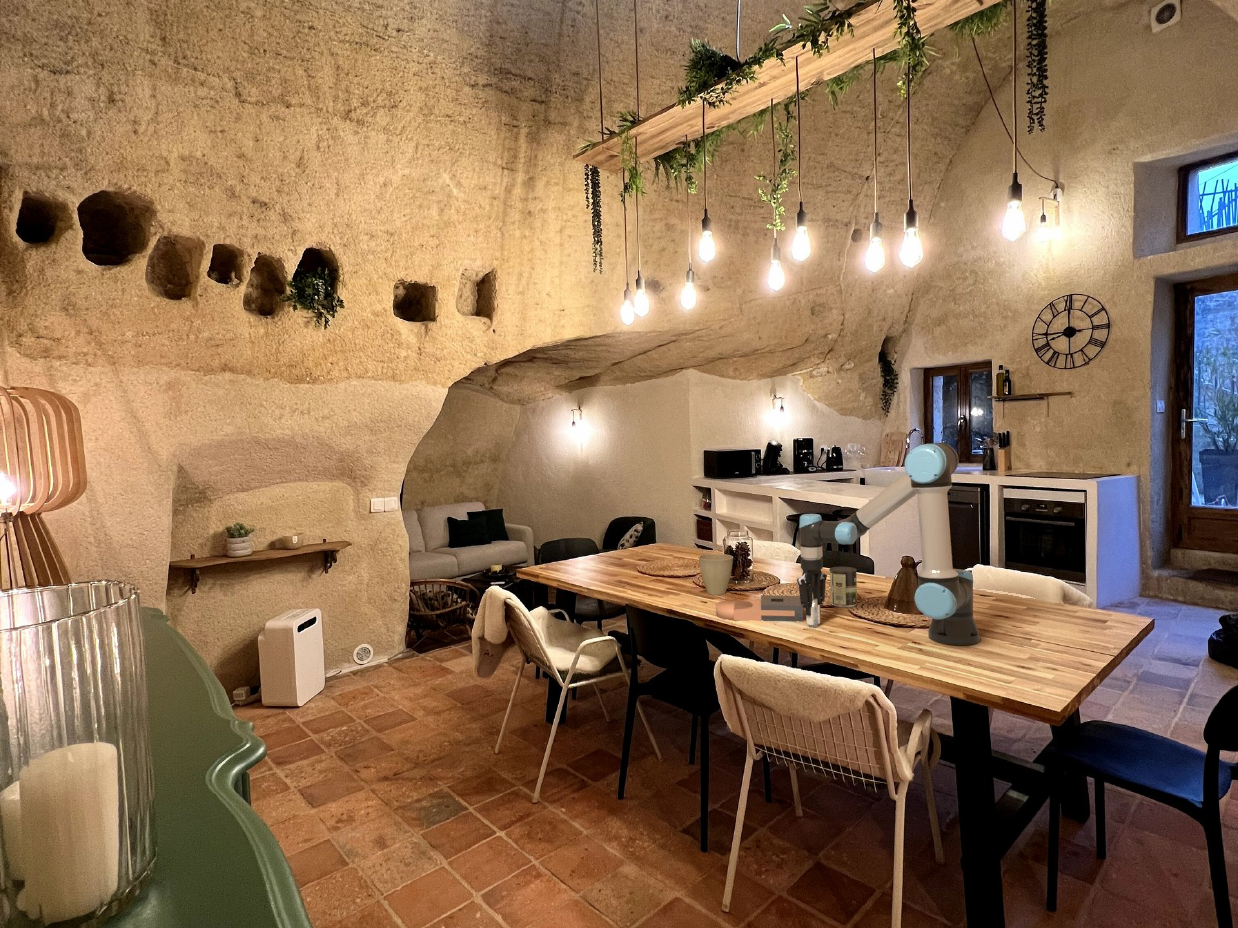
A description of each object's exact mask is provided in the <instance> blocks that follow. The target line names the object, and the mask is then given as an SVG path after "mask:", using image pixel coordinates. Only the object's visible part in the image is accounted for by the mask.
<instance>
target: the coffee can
mask: <svg viewBox="0 0 1238 928" xmlns="http://www.w3.org/2000/svg"><path fill="white" fill-rule="evenodd" d="M857 570H858V569H857V568H855V567H850V566H833V567H829V583H830V584H829V585H830V586H829V588H830V589H829V590H830V592H829V593H830V594H829V595H830V605H831V604H832V606H833V605H834V607H838V608H853V607H852V606H853V605H856V604H857V605H858V586H857V585H858V584H857V582H858V581H857V577H858V576H857Z"/></svg>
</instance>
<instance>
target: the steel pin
mask: <svg viewBox="0 0 1238 928" xmlns="http://www.w3.org/2000/svg"><path fill="white" fill-rule="evenodd" d="M812 606H813V607H814V625H810V624H808V626H809V628H811V627H813V628H812V629H817V628H818V627H819V624H818V605H817V598H813V597H812Z"/></svg>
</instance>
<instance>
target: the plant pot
mask: <svg viewBox="0 0 1238 928" xmlns="http://www.w3.org/2000/svg"><path fill="white" fill-rule="evenodd" d="M733 563H734V556H732V555H730V554H725V553H708V554H707V553H706V554H701V555H699V556H698V564H699V568H700V573H701V577H702V581H703V584H704V587H705V589H706V592H707V594H708V595H711V596H722V595H725V594H726V591H727V589H728V584H729V582H730V579H731V573H732V569H733Z"/></svg>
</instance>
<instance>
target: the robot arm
mask: <svg viewBox="0 0 1238 928" xmlns="http://www.w3.org/2000/svg"><path fill="white" fill-rule="evenodd" d="M906 455H907V456H906V458H905V460H904V470H905V474H903V475H902V476H900V477H899V478H898V479H897V480H896V481H894V482H893V483H892V484H890V485H889V486H888V487H886V488H885V489H884V490H882V491H881V492H879V494H877V495H876V496H875V497H873V498H872V499H870V500H869V501H868V502H867V503H865V504H864V505H863V506H861V507H860V508H859V509H857V510H856V511H855V512H854V513H853V514H851V515H849V516H848V517H847V518H843V519H840V520H838V521H837V520H836V521H832V520H831V521H827V520H823V519H822V516H821V515H820V514H817V513H804V514H801V515H800V516H799V526H798V529H799V541H800V542H799V545H800V557H801V558H800V569H801V570H802V574H801V575H802V576H801V577H800V578H797V579H796V583H797V584H798V591H799V592H798V593H799V596H800V601H801V605H803V607H805V615H806V624H808V625H809V624H810V625H814V607H813V606H812V598H817V605H818V625H819V624H821V606H823V605H824V602H825V601H826V583H827V581H826V580H827V578H828V575H827V573H826V574H825V573H822V570H823V566H824V565H823V563H824V562H823V554H824V553H823V543H827V544H829V543H830V544H837V545H838V544H839V545H853V544H855V542H856V541H857V539H858V538H861V537H863V536H864V535H865V534H867V532H868V531H869V530H870V529H871V528H873V527H874V526H875V525H877V524H878V523H880V521H882V520H883V519H885V518H886V517H887V516H889V515H890V514H891V513H893V512H895V511H896V510H897V509H899V508H900V507H901V506H903V505H904V504H905V503H907V502H908V501H910V500H911V499H912V498H913V497H915V496H916V497H917V499H916V500H917V510H918V511H917V512H918V524H919V526H918V527H919V538H920V552H921V565H922V566H921V567H922V568H921V570H920V571H919V572H918V573H917V580H918V581H917V582H918V587H917V589H916V590H915V593H914V603H915V606H916V607H917V609H918V611H919V612H921V613H922V614H923V615H924V616H925V617H927V618H930V619H931V622H930V624H929V626H928V630H927V631H928V635H927V636H928V638H929V639H930V640H931V641H934V642H937V643H940V644H945V645H951V646H954V645H955V646H972V645H976V644H979V642H980V632H979V629H978V626H977V623H976V621H975V618H974V579H973V578H974V577H973V573H972V572H971V571H969V570H966V569H958V568H954V567H953V555H952V542H951V529H950V516H949V500H948V491H949V490H950V489H951V488H952V487H953V481H952V475H953V474H954V473H955V472H956V471H957V468H958V467H959V461H960V460H959V455H958V453H957V451H956V450H955V449H954V448H953V447H952V446H951V445H949V444H947V443H944V442H933V443H926V444H925V443H923V444H921V445H918V446H916V447H914V448H913V449H911V450H910V451H909V452H908V454H906Z"/></svg>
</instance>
